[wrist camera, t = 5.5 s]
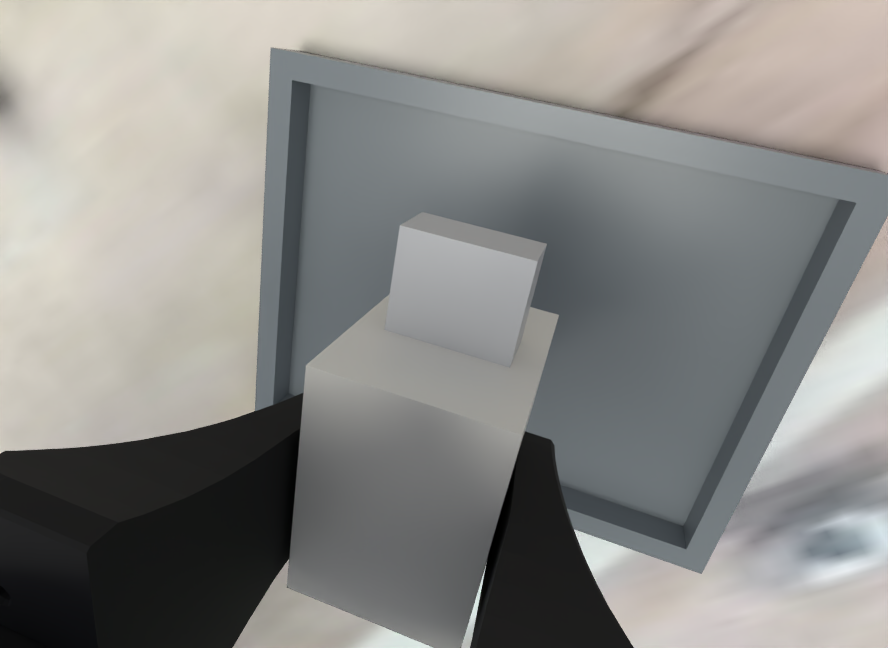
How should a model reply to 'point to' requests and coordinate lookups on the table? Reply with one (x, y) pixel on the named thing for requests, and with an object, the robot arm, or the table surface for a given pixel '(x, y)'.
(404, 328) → the plug
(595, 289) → the tray
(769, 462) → the table surface
